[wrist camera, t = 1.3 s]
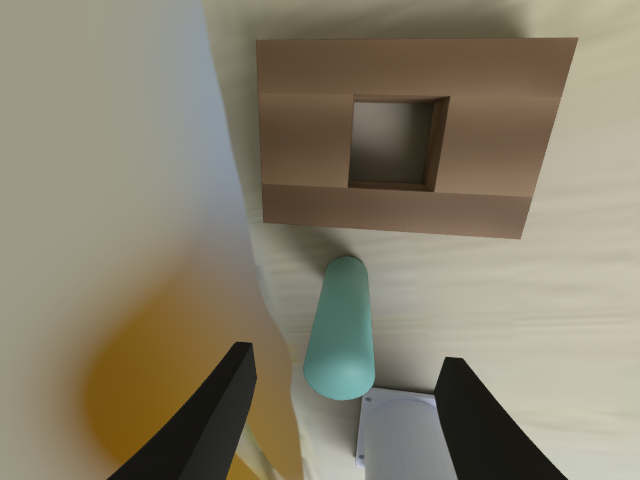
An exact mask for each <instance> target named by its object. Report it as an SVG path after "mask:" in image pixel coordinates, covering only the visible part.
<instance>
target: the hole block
mask: <svg viewBox="0 0 640 480" xmlns="http://www.w3.org/2000/svg"><path fill="white" fill-rule="evenodd" d="M577 41H578V38H456V39H322V40H256V53H257V78H258V102H259V127H260V151H261V176H262V200H263V223H277V224H292V225H307V226H323V227H338V228H353V229H369V230H384V231H399V232H415V233H430V234H445V235H461V236H476V237H492V238H507V239H521V235H522V232H523V228H524V225H525V221H526V218H527V214H528V211H529V208H530V204H531V201H532V197H533V194H534V190H535V187H536V183H537V180H538V176H539V173H540V169H541V166H542V162H543V159H544V156H545V152H546V149H547V145H548V142H549V138H550V135H551V131H552V128H553V124H554V121H555V117H556V114H557V110H558V107H559V104H560V100H561V97H562V93H563V90H564V86H565V83H566V79H567V76H568V72H569V69H570V65H571V62H572V59H573V55H574V52H575V48H576V45H577ZM354 102H371V103H431V104H434V108H433V114H432V121H431V128H430V134H429V141H428V147H427V154H426V161H425V167H424V174H423V180H422V184H415V183H394V182H372V181H351V180H349V175H350V159H351V143H352V128H353V112H354Z"/></svg>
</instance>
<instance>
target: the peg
mask: <svg viewBox="0 0 640 480" xmlns="http://www.w3.org/2000/svg"><path fill="white" fill-rule="evenodd" d="M303 371H304V376H305V379H306V381H307V382H308V384H309V385H310V386H311V387H312V389H314V390H315V391H316V392H317V393H319V394H321V395H323V396H325V397H327V398H331V399H335V400H351V399H355V398H358V397H360V396H362V395H364V394H365V393H366V392H367V391H369V389H370V388H371V387H372V385H373V383H374V380H375V366H374V352H373V339H372V326H371V312H370V299H369V285H368V273H367V269H366V267H365V266H364V264H363V263H362V262H361V261H359V260H358V259H356V258H353V257H348V256H344V257H339V258H337V259H335V260H333V261H332V262H331V263H330V264H329V266H328V267H327V270H326V274H325V278H324V282H323V287H322V291H321V295H320V299H319V303H318V307H317V312H316V316H315V320H314V324H313V328H312V332H311V337H310V341H309V345H308V349H307V353H306V358H305V362H304V367H303Z"/></svg>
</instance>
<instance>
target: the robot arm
mask: <svg viewBox="0 0 640 480" xmlns="http://www.w3.org/2000/svg"><path fill="white" fill-rule="evenodd" d="M256 380H257V375H256V368H255V360H254V353H253V345H252V343H247V342H236V343H234V344H233V346H232V347H231V348H230V350H229V351H228V352H227V354H226V355H225V356H224V358H223V359H222V360H221V362H220V363H219V364H218V365H217V366H216V368H215V369H214V370H213V371H212V373H211V374H210V375H209V376H208V378H207V379H206V380H205V381H204V382H203V383H202V385H201V386H200V387H199V388H198V390H197V391H196V392H195V393H194V394H193V395H192V396H191V398H189V400H188V401H187V402H186V403H185V404H184V405H183V406H182V407H181V408H180V409H179V411H178V412H177V413H176V414H175V415H174V416H173V417H172V418H171V419H170V420H169V421H168V422H167V423H166V424H165V425H164V426H163V427H162V428H161V430H160V431H158V433H157V434H155V435H154V436H153V437H152V438H151V439H150V440H149V441H148V442H147V443H146V444H145V445H144V446H143V447H142V448H141V449H140V450H139V451H138V452H137V453H136V454H134V456H132V457H131V458H130V459H129V460H128V461H127V462H126V463H125V464H124V465H122V466H121V467H120V468H119V469H118V470H117V471H116V472H115V473H114V474H112V475H111V476H110V477H109V478H108V479H107V480H226V477H227V474H228V471H229V468H230V465H231V462H232V459H233V456H234V453H235V451H236V448H237V445H238V442H239V439H240V436H241V433H242V430H243V427H244V424H245V421H246V418H247V415H248V412H249V409H250V406H251V402H252V398H253V393H254V389H255V384H256ZM367 397H369V398H367ZM355 463H356V465H357V466H358V467H360V468H365V480H568V479H567V478H566V477H565V476H564V475H563V474H562V473H561V472H560V471H559V470H558V469H557V468H556V467H555V466H554V465H553V464H552V463H551V461H550V460H549V459H548V458H547V457H546V456H545V455H544V454H543V453H542V452H541V451H540V450H539V449H538V447H537V446H536V445H535V444H534V443H533V442H532V441H531V440H530V439H529V438H528V436H527V435H526V434H525V433H524V432H523V431H522V430H521V429H520V427H519V426H518V425H517V424H516V423H515V422H514V420H513V419H512V418H511V417H510V416H509V414H508V413H507V412H506V411H505V410H504V409H503V407H502V406H501V405H500V404H499V403H498V401H497V400H496V399H495V398H494V397H493V395H492V394H491V393H490V392H489V390H488V389H487V388H486V387H485V385H484V384H483V383H482V382H481V380H480V379H479V378H478V377H477V375H476V374H475V373H474V372H473V370H472V369H471V368H470V367H469V365H468V364H467V363H466V362H465V360H464V359H463V358H454V357H445V360H444V363H443V366H442V369H441V372H440V375H439V378H438V381H437V384H436V387H435V390H434V395H429V394H421V393H413V392H405V391H397V390H389V389H381V388H373V387H371V388H370V389H369V391H367V392H366V393H365V394H364V395H362V403H361V412H360V422H359V431H358V441H357V450H356V459H355Z"/></svg>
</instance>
